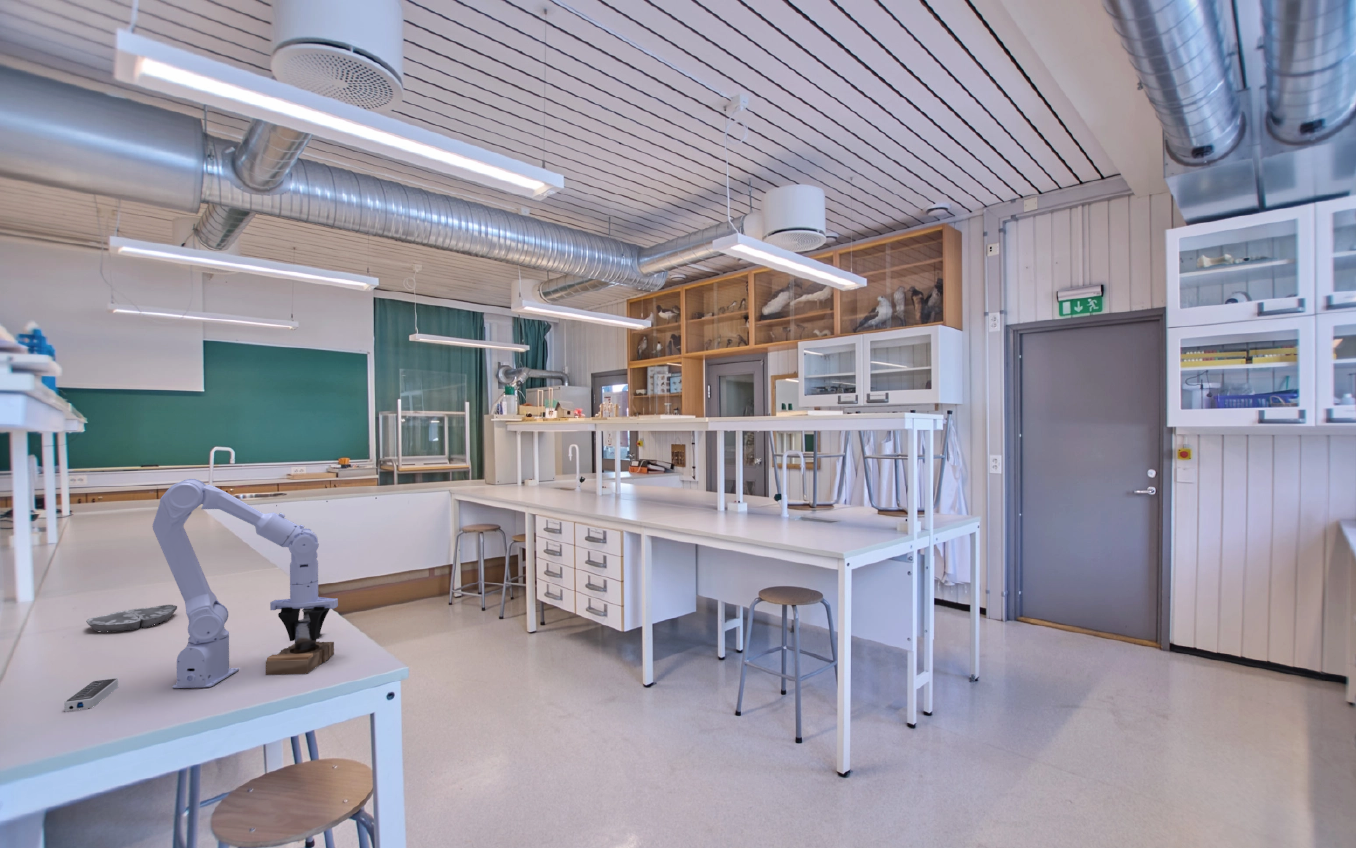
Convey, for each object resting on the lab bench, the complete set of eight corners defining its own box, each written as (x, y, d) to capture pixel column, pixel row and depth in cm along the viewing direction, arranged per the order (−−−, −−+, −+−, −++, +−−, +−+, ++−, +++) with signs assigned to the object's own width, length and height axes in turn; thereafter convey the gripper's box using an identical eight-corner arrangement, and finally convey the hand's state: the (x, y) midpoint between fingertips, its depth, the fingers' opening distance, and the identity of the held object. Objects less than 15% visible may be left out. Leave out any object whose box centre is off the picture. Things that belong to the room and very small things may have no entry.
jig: (309, 673, 139) (309, 657, 139) (263, 675, 139) (263, 658, 139) (337, 653, 152) (337, 638, 152) (295, 654, 151) (294, 639, 151)
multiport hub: (119, 688, 133) (119, 677, 133) (92, 710, 123) (92, 698, 123) (92, 691, 132) (92, 681, 132) (63, 714, 121) (63, 702, 121)
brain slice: (95, 641, 163) (95, 630, 163) (81, 629, 173) (81, 618, 173) (187, 622, 179) (187, 611, 179) (169, 612, 189) (169, 602, 189)
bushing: (311, 649, 145) (311, 623, 145) (291, 650, 144) (291, 624, 145) (319, 642, 149) (319, 617, 150) (299, 644, 149) (299, 618, 149)
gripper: (343, 576, 151) (344, 632, 151) (282, 578, 150) (283, 634, 150) (329, 584, 144) (329, 643, 144) (264, 585, 143) (265, 644, 143)
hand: (304, 639), depth 147 cm, fingers closed on bushing, 4 cm apart
